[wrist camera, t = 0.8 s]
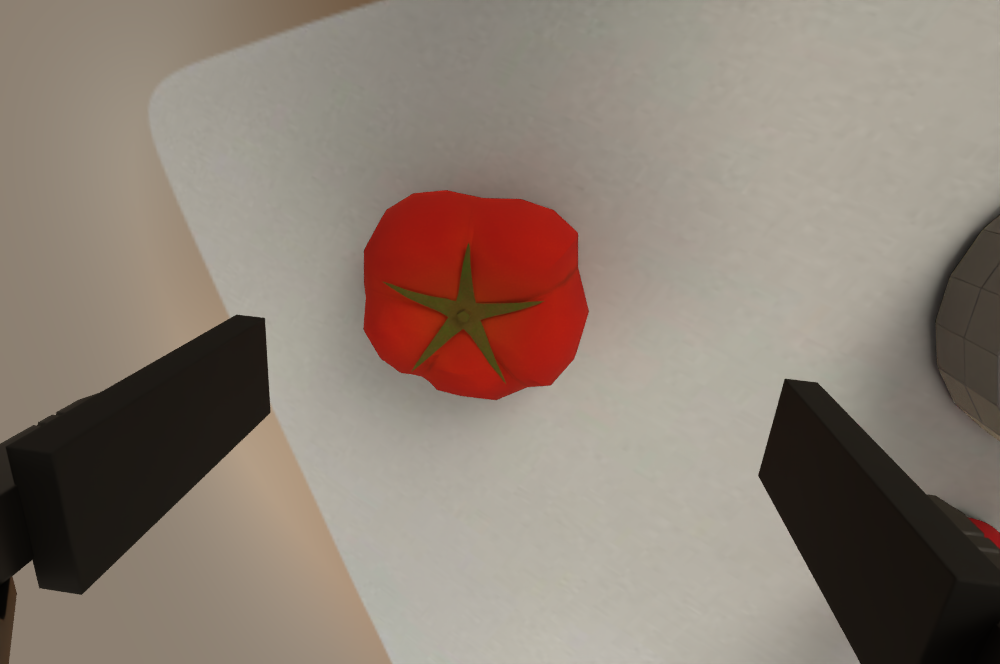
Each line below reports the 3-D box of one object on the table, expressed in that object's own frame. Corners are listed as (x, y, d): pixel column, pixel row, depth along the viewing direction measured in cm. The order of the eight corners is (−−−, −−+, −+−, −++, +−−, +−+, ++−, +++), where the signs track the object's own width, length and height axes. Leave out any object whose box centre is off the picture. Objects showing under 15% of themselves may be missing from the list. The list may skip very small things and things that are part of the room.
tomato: (386, 175, 30) (339, 188, 24) (601, 199, 29) (610, 220, 23) (381, 351, 33) (338, 403, 27) (573, 377, 32) (574, 437, 26)
